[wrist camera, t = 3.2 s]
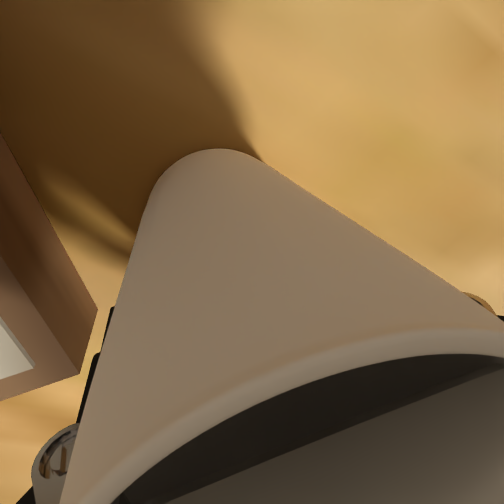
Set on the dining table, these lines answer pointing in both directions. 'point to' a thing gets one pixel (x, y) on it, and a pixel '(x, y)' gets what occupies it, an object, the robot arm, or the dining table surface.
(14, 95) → the dining table surface
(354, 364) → the mug
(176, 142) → the dining table surface
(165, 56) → the dining table surface
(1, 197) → the walnut picture frame
